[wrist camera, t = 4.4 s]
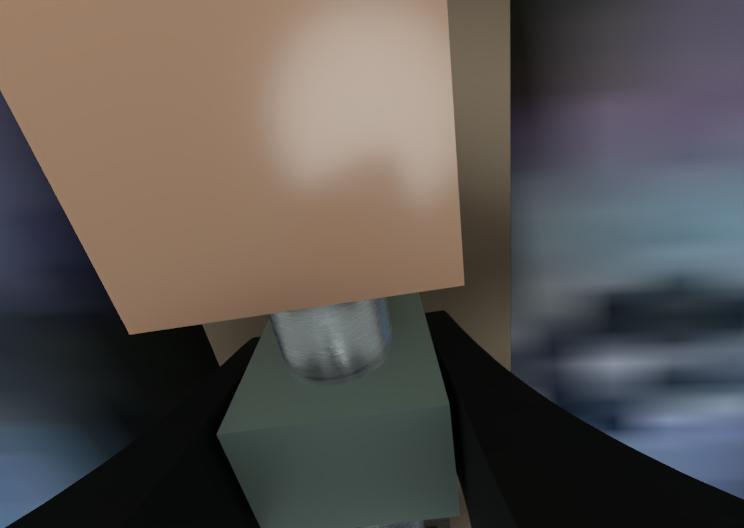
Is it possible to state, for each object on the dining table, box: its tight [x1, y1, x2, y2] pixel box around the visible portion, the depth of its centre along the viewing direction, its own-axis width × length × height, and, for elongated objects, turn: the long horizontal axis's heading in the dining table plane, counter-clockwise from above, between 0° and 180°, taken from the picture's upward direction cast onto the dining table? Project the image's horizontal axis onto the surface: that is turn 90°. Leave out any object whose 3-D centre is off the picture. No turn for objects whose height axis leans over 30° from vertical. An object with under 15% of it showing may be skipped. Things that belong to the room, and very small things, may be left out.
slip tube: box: [216, 292, 460, 528], centre depth 9 cm, size 16×4×4 cm, turn 9°
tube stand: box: [0, 0, 511, 528], centre depth 11 cm, size 24×10×7 cm, turn 9°
